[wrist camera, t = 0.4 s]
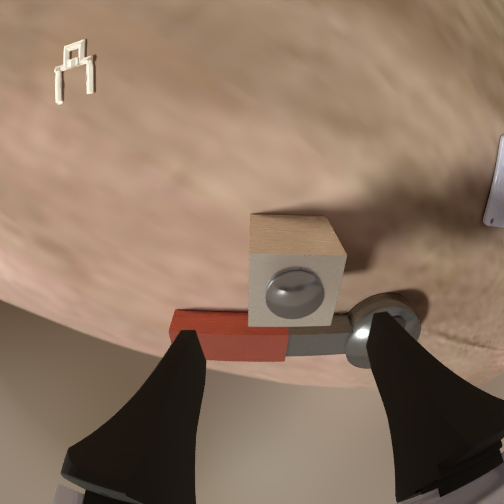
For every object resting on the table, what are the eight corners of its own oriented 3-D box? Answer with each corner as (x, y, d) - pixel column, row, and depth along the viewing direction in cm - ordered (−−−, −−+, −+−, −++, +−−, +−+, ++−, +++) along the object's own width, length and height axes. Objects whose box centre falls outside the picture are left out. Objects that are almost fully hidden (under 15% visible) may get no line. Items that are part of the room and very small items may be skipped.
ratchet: (420, 291, 22) (444, 328, 18) (395, 345, 25) (411, 382, 21) (171, 291, 22) (156, 336, 18) (183, 350, 25) (174, 391, 21)
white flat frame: (263, 174, 18) (263, 179, 17) (45, 198, 18) (37, 203, 17) (247, -118, 5) (247, -125, 4) (43, -58, 5) (37, -61, 4)
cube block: (325, 216, 19) (348, 258, 14) (316, 278, 21) (331, 329, 16) (250, 214, 18) (249, 256, 14) (248, 277, 21) (248, 330, 16)
